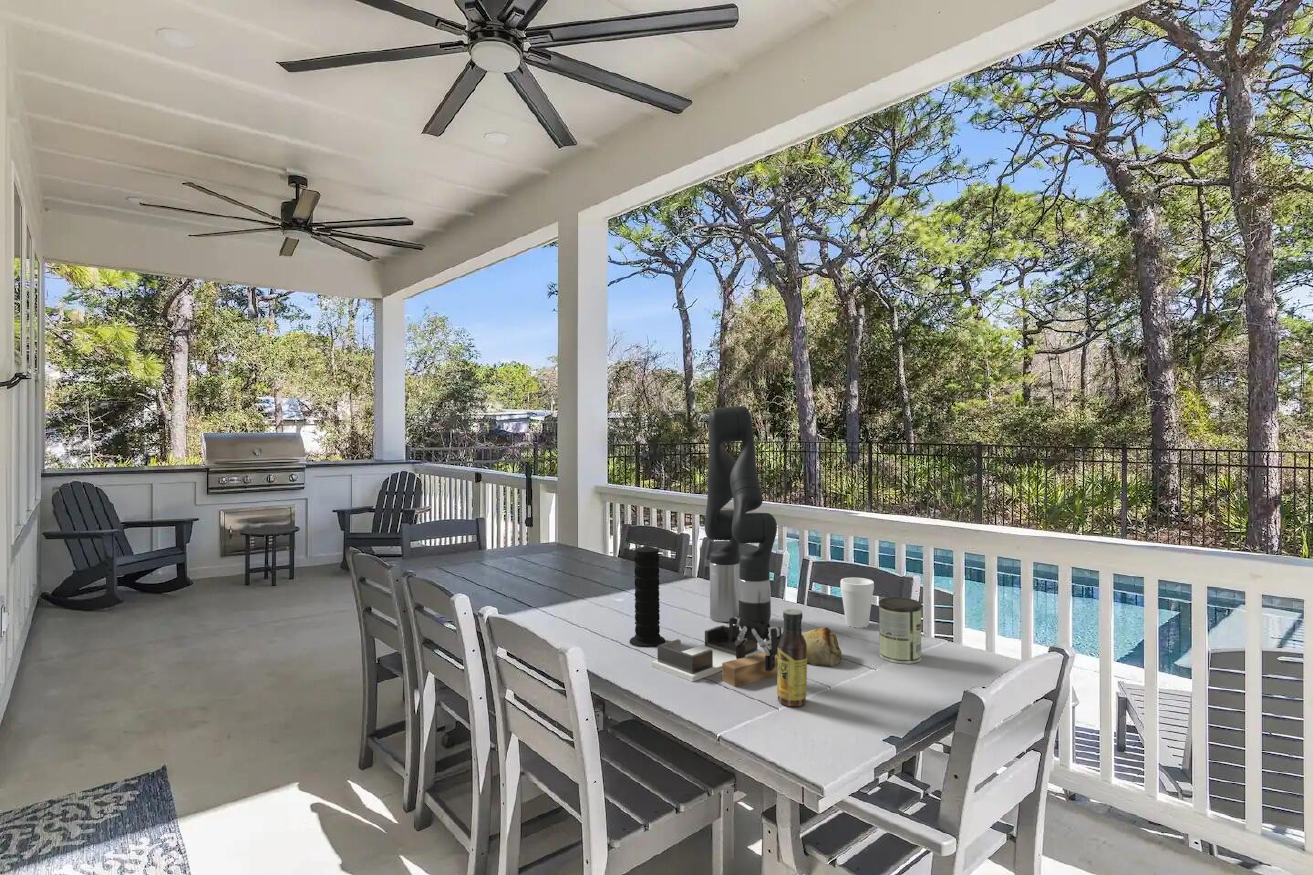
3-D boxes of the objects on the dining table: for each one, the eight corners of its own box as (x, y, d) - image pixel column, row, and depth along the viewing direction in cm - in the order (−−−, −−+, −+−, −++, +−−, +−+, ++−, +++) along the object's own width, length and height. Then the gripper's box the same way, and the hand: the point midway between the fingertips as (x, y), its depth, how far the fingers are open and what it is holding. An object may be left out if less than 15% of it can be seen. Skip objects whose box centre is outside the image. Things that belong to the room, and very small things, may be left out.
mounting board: (722, 642, 187) (722, 638, 187) (763, 655, 177) (763, 650, 177) (651, 666, 170) (651, 661, 170) (692, 681, 159) (692, 676, 159)
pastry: (851, 665, 169) (851, 633, 169) (804, 669, 167) (803, 636, 167) (827, 647, 183) (827, 617, 183) (783, 650, 181) (782, 620, 181)
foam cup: (862, 631, 196) (862, 586, 196) (834, 624, 203) (834, 581, 202) (880, 625, 202) (879, 581, 202) (852, 618, 209) (852, 576, 209)
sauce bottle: (773, 697, 150) (773, 606, 150) (801, 695, 151) (801, 605, 150) (781, 709, 144) (781, 615, 143) (811, 708, 144) (810, 614, 144)
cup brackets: (722, 639, 186) (722, 625, 186) (757, 650, 177) (757, 635, 177) (657, 661, 170) (657, 645, 169) (692, 674, 161) (692, 657, 161)
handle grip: (625, 646, 185) (661, 648, 183) (624, 548, 184) (661, 549, 182) (634, 634, 195) (668, 636, 193) (633, 542, 194) (667, 543, 192)
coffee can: (879, 648, 181) (879, 595, 181) (920, 652, 178) (920, 598, 178) (878, 661, 172) (878, 605, 171) (922, 666, 168) (922, 609, 168)
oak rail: (774, 668, 168) (774, 650, 168) (786, 673, 165) (786, 655, 165) (722, 681, 160) (722, 662, 160) (734, 688, 156) (734, 668, 156)
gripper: (788, 600, 159) (789, 669, 159) (741, 589, 170) (742, 655, 170) (768, 606, 154) (769, 678, 154) (721, 595, 164) (721, 662, 165)
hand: (754, 665), depth 162 cm, fingers open, 8 cm apart
